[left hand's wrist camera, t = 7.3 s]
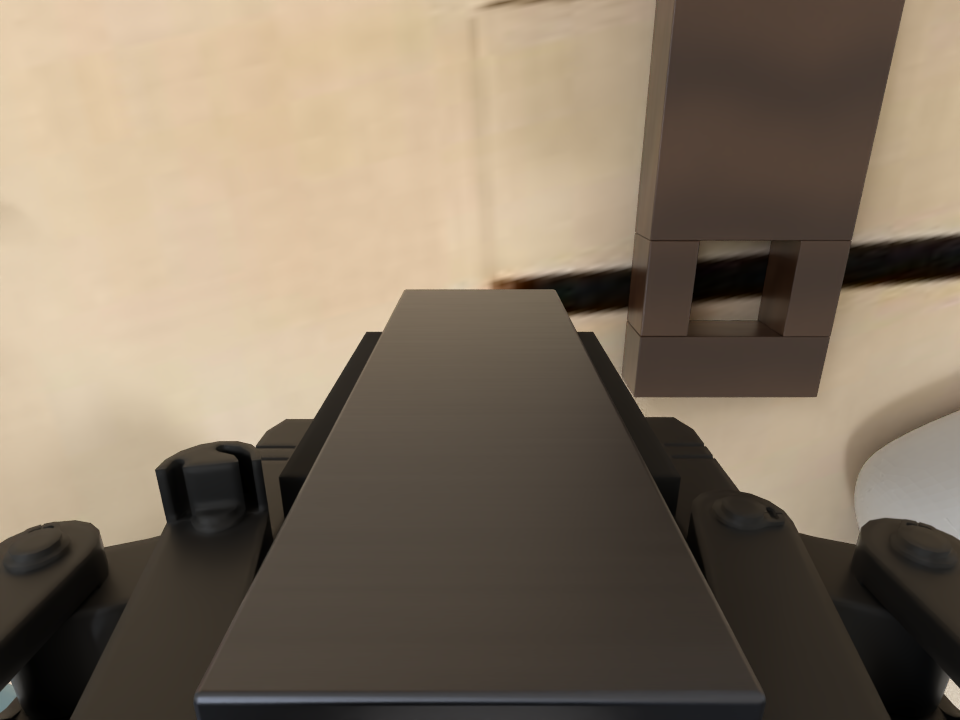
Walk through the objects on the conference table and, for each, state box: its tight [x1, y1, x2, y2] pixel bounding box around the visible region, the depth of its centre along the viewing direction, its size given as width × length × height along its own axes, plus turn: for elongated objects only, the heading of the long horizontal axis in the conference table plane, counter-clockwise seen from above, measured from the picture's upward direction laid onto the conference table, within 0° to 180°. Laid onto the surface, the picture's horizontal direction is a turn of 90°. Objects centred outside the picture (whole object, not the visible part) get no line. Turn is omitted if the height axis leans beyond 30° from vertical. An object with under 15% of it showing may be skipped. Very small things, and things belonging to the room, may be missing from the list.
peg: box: [193, 290, 766, 720], centre depth 10 cm, size 4×4×12 cm
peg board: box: [622, 0, 905, 397], centre depth 23 cm, size 36×10×11 cm, turn 0°
